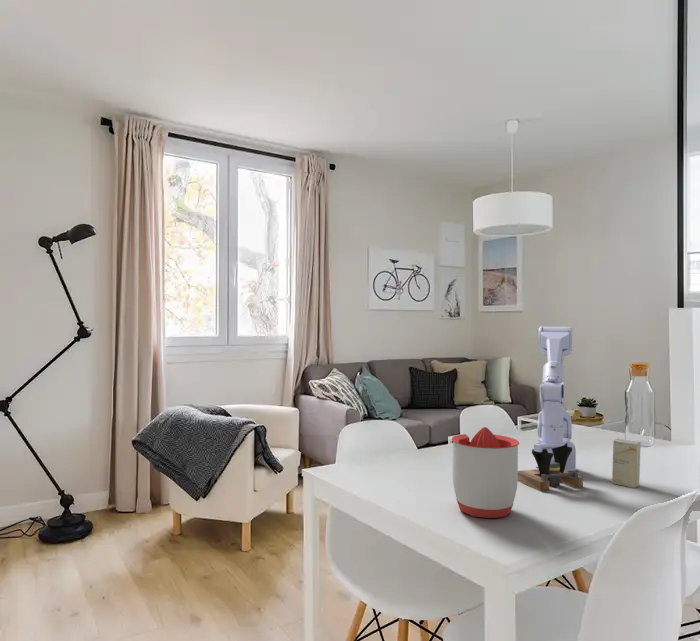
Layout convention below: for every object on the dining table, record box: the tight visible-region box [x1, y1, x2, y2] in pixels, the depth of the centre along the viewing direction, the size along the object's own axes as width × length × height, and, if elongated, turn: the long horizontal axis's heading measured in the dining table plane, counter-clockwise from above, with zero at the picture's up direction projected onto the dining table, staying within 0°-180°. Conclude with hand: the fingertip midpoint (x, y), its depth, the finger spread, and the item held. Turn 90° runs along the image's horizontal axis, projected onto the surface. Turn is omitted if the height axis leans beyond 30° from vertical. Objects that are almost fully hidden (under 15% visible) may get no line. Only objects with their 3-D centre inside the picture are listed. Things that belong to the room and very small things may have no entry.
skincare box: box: [611, 438, 642, 489], centre depth 154 cm, size 6×4×12 cm
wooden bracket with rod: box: [517, 468, 584, 492], centre depth 154 cm, size 14×11×4 cm
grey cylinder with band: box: [548, 462, 561, 488], centre depth 153 cm, size 4×4×6 cm
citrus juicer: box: [451, 426, 520, 519], centre depth 132 cm, size 16×17×20 cm
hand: (552, 474), depth 153 cm, fingers open, 7 cm apart
